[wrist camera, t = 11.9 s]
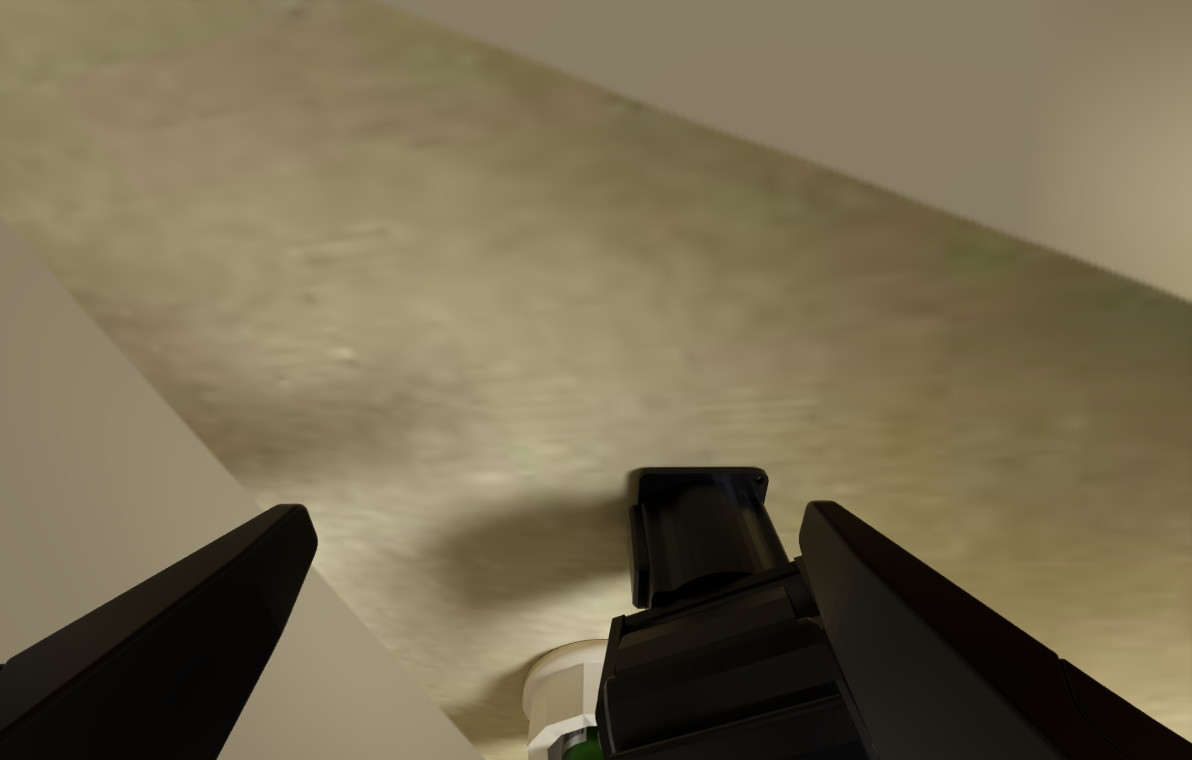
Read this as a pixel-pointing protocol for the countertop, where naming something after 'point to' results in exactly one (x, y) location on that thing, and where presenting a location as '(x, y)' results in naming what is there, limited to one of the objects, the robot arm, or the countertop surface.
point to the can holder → (562, 695)
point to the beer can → (582, 745)
